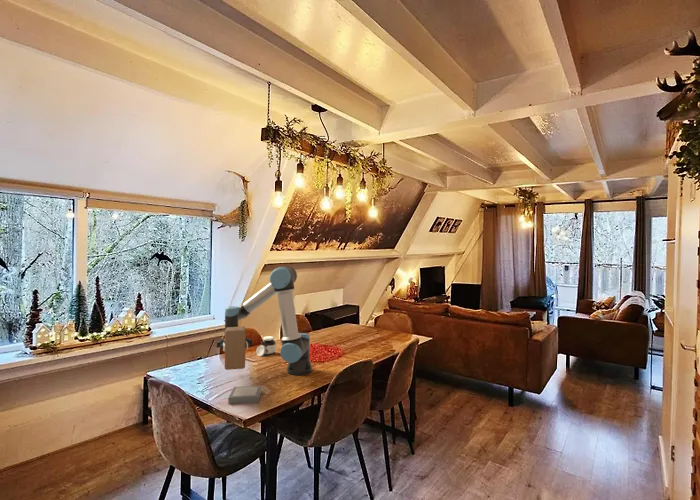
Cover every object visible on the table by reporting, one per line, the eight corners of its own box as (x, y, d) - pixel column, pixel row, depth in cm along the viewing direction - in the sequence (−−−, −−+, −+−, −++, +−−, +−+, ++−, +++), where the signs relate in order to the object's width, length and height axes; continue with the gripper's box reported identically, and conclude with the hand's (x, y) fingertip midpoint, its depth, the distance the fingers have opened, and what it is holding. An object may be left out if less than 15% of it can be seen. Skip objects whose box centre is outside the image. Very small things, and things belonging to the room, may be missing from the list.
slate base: (261, 391, 198) (261, 385, 198) (257, 402, 184) (258, 396, 184) (234, 392, 197) (234, 386, 197) (228, 403, 183) (228, 397, 183)
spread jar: (276, 352, 269) (277, 336, 269) (271, 357, 258) (272, 340, 258) (260, 351, 271) (260, 335, 270) (254, 356, 259) (255, 339, 259)
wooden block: (244, 363, 204) (245, 326, 203) (245, 369, 194) (245, 330, 194) (225, 364, 201) (225, 326, 201) (224, 370, 191) (225, 331, 191)
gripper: (253, 342, 218) (258, 353, 198) (210, 345, 210) (211, 357, 190) (253, 329, 218) (259, 338, 198) (211, 332, 210) (212, 342, 189)
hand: (235, 347), depth 194 cm, fingers closed on wooden block, 11 cm apart
